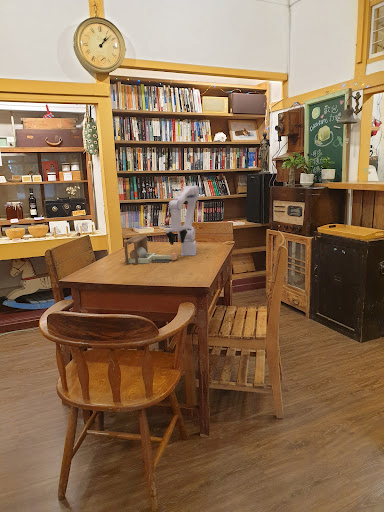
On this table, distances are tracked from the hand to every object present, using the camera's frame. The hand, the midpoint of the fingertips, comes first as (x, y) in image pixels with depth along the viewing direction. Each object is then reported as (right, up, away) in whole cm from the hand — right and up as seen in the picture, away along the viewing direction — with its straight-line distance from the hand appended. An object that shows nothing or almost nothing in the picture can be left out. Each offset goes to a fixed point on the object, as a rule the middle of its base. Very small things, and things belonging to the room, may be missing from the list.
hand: (177, 243), depth 216 cm
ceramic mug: (-22, -10, +3) cm, 25 cm away
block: (-15, -10, +2) cm, 18 cm away
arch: (-24, -10, +4) cm, 26 cm away
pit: (-9, -10, +1) cm, 13 cm away
